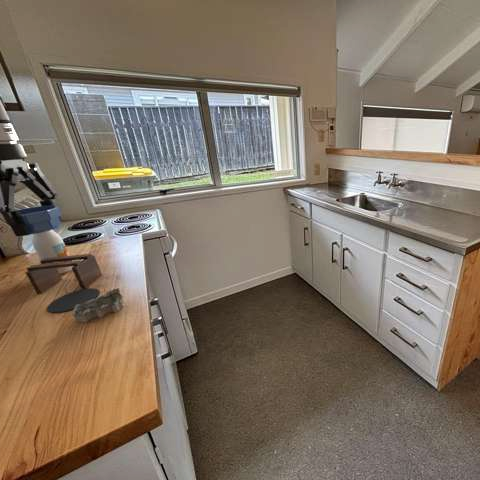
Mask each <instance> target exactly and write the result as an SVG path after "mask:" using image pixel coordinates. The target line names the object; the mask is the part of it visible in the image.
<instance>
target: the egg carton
mask: <svg viewBox="0 0 480 480" xmlns="http://www.w3.org/2000/svg"><path fill="white" fill-rule="evenodd" d="M123 302H124V298H123V296H122V294H121V291H120V288H112V290H108V291H107V292H105V294H101V295H100V296H97V297H96V298H95V299H92V300H90V301H87V302H86V303H83V304H82V305H81V304H78V305H75V307H74V309H73V310H71V311H72V313H71V315H73V317H74V318H75V320H76V322H77V323H82V324H84V323H87V322H89V321H90V320H91V319H94V318H102V317H105V315H106V314H108V313H112V312H113V313H117V312H119V311H120V310H122V309H123V308H124V304H123Z"/></svg>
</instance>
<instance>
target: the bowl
mask: <svg viewBox="0 0 480 480" xmlns="http://www.w3.org/2000/svg"><path fill="white" fill-rule="evenodd" d="M16 210H18V211H19V213H20V215H21V217H22V219H23V221H24V223H25V225H26V227H27V229H28V230H29V232H30V235H33V234H37V233H42V232H46V231H50V230H53V231H54V230H56V229H59V228H60V227H62V224H63V223H62V220H61V221H60V219H59V216H60V217H61V216H63V212H62V210H61V208H60V206H59V205H56V204H55V205H47V206H41V205H37V206H31V207H25V208H19V209H14V211H16Z"/></svg>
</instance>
